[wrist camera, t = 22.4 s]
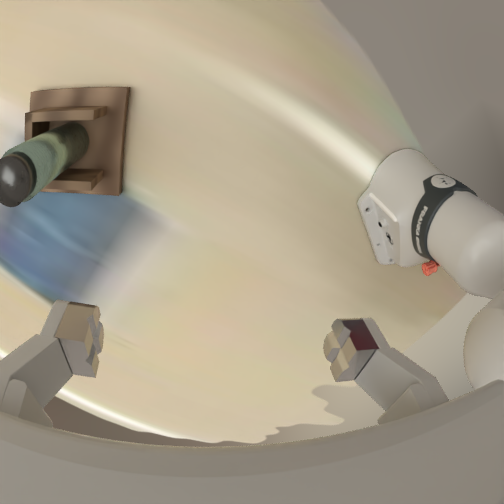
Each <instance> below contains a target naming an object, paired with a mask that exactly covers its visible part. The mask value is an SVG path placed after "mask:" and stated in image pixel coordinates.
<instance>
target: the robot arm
mask: <svg viewBox="0 0 504 504" xmlns="http://www.w3.org/2000/svg"><path fill="white" fill-rule="evenodd" d="M357 205H358V208H359V211H360V214H361V216H362V219H363V222H364V224H365V227H366V230H367V233H368V236H369V239H370V242H371V245H372V248H373V251H374V254H375V257H376V260H377V261H378V262H379V263H380V264H385V265H389V264H395V263H396V264H398V265H399V266H402V267H412V266H416V265H418V264H421V263H423V262H425V261H427V260H430V261H429V262H427V263H424V264H422V270H423V273H424V274H425V275H426V276H429V275H430V274H432V273H433V272H436V271H437V267H438V266H441V267H442V268H443V269H444V270H445V271H446V272H447V273H448V274H449V275H450V276H451V277H452V278H453V280H454V281H455V282H456V283H457V284H458V285H459V286H460V287H461V288H462V289H463V290H465V291H466V292H468V293H470V294H472V295H475V296H480V297H487V298H490V299H492V300H491V301H490V302H489V303H488V304H487V305H486V306H485V307H484V308H483V309H482V310H481V311H480V312H479V313H477V314H476V315H475V317H474V318H473V319H472V321H471V322H470V324H469V326H468V329H467V332H466V336H465V341H464V349H463V356H464V367H465V371H466V375H467V378H468V380H469V382H470V384H471V386H472V388H473V389H474V390H473V391H471V392H469V393H467V394H464V395H462V396H460V397H458V398H455V399H453V400H450V401H449V399H448V398H447V396H446V394H445V392H444V391H443V389H442V387H441V386H440V384H439V382H438V380H437V379H436V377H434V376H433V375H432V374H430V373H429V372H427V371H426V370H424V369H423V368H422V367H420V366H419V365H417V364H416V363H415V362H413V361H412V360H410V359H409V358H408V357H406V356H405V355H403V354H402V353H400V352H399V351H398V350H396V349H395V348H390V346H389V344H388V343H387V341H386V339H385V338H384V336H383V334H382V332H381V331H380V329H379V327H378V326H377V324H376V322H375V321H374V320H373V319H372V318H353V319H336V320H335V321H334V322H333V324H332V326H331V327H332V330H333V331H331V332H330V333H329V334H327V336H326V338H325V340H324V346H323V349H324V354H325V357H326V359H327V360H328V361H330V362H331V363H332V364H331V366H330V370H331V372H332V374H333V377H334V379H335V382H341V381H351V380H355V382H356V383H357V384H358V385H359V386H360V387H361V388H362V389H363V390H364V391H365V392H366V393H367V394H368V395H369V396H371V398H372V399H373V400H374V401H376V403H378V404H379V405H380V406H381V407H382V408H383V409H384V410H385V411H386V412H385V413H384V414H383V415H381V416H380V417H379V419H378V424H379V425H375V426H371V427H367V428H363V429H359V430H355V431H350V432H346V433H341V434H336V435H331V436H326V437H319V438H313V439H307V440H300V441H293V442H285V443H276V444H266V445H252V446H234V447H180V446H163V445H150V444H140V443H131V442H123V441H116V440H109V439H103V438H97V437H92V436H86V435H82V434H77V433H73V432H68V431H64V430H60V429H56V428H52V426H53V423H52V421H51V419H50V418H49V417H48V415H47V414H46V413H45V411H44V410H43V408H44V407H45V406H46V404H47V403H48V402H49V401H50V400H51V399H52V398H53V397H54V396H55V394H56V393H57V392H58V391H59V390H60V389H61V388H62V387H63V386H64V385H65V383H66V382H67V381H68V380H69V379H70V378H71V377H72V376H73V375H72V374H74V375H81V376H87V377H95V378H96V374H97V369H98V365H99V359H98V356H97V355H98V354H99V353H100V352H101V351H102V347H103V339H104V332H103V325H102V323H101V322H100V321H99V318H100V315H101V314H100V310H99V307H98V306H95V305H89V304H82V303H76V302H68V301H63V300H56V301H55V302H54V304H53V306H52V308H51V310H50V313H49V315H48V317H47V319H46V322H45V324H44V326H43V328H42V331H41V333H40V335H38V334H36V335H34V336H33V337H32V338H30V339H29V340H27V341H26V342H25V343H23V344H22V345H21V346H19V347H18V348H17V349H15V350H14V351H12V352H11V353H10V354H8V355H7V356H6V357H5V358H3V359H2V360H1V361H0V504H504V215H503V214H502V213H501V212H499V211H498V210H496V209H495V208H493V207H492V206H490V205H489V204H488V203H486V202H484V201H483V200H482V199H480V198H478V196H477V195H476V193H475V192H474V191H473V190H471V189H470V188H468V187H467V186H465V185H464V184H462V183H461V182H459V181H457V180H455V179H454V178H451V177H449V176H447V175H445V174H444V173H442V172H441V171H440V170H439V169H438V168H437V167H435V166H434V165H433V164H432V163H431V162H430V161H429V160H428V159H427V158H426V157H425V156H424V155H423V154H422V153H421V152H419V151H416V150H413V149H403V150H399V151H396V152H394V153H392V154H391V155H389V156H388V157H387V158H386V159H385V160H384V161H383V162H382V163H381V164H380V165H379V167H378V168H377V170H376V171H375V173H374V175H373V178H372V180H371V183H370V185H369V187H368V189H367V190H366V191H365V192H364V193H363V194H362V196H361V197H360V198H359V200H358V203H357ZM366 208H368V209H367V210H366Z"/></svg>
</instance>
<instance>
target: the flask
mask: <svg viewBox="0 0 504 504" xmlns="http://www.w3.org/2000/svg"><path fill="white" fill-rule="evenodd" d="M88 146H89V136H88V133H87V131H86V129H85V128H84V127H83V126H82V125H81V124H79V123H76V122H68V123H66V124H63V125H61V126H58V127H56V128H54V129H51V130H49V131H47V132H44V133H42V134H40V135H38V136H36V137H34V138H31V139H29V140H27V141H25V142H23V143H21V144H19V145H17V146H15V147H13V148H11V149H9V150H8V151H7V152H6V153H5V154H4V155H3V157H2V158H1V159H0V203H2V204H3V205H5V206H8V207H15V206H17V205H19V204H20V203H21V202H26V201H28V200H30V199H31V198H33V197H34V196H35V195H36V194H37V193H38V192H40V191H41V190H42V189H43V188H44V187H45V186H46V185H48V184H49V183H50V182H51V181H52V180H54V179H55V178H56V177H57V176H59V175H60V174H61V173H62V172H64V171H65V170H66V169H67V168H69V167H70V166H71V165H73V164H74V163H75V162H76V161H78V160H79V159H80V158H82V157H83V156H84V155H85V153H86V152H87V150H88Z"/></svg>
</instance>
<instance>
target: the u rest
mask: <svg viewBox="0 0 504 504" xmlns="http://www.w3.org/2000/svg"><path fill="white" fill-rule="evenodd" d="M129 92H130V87H87V88H66V89H53V90H42V91H34V92H31V98H30V112H28V113H25V141H27V140H29V139H31V138H34V137H36V136H38V135H40V134H42V133H44V132H47V131H49V130H51V129H54V128H56V127H58V126H61V125H63V124H66V123H68V122H76V123H79V124H81V125H82V126H83V127H84V128H85V129H86V131H87V133H88V136H89V146H88V150H87V152H86V153H85V155H84V156H83V157H82V158H80V159H79V160H78V161H76V162H75V163H74V164H73V165H71V166H70V167H69V168H67V169H66V170H65V171H64V172H62V173H61V174H60V175H59V176H57V177H56V178H55V179H54V180H52V181H51V182H50V183H49V184H48V185H46V186H45V187H44V188H43V189H42V190H41V191H42V192H65V193H84V194H100V195H115V196H119V195H120V194H121V192H122V169H123V152H124V138H125V127H126V117H127V108H128V100H129Z"/></svg>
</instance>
